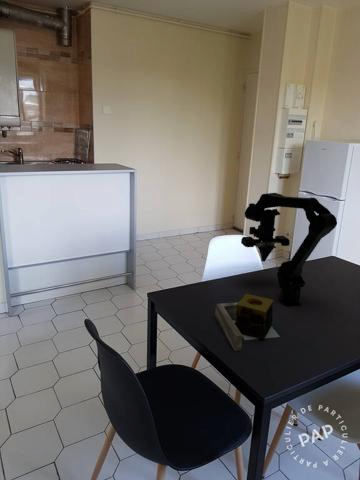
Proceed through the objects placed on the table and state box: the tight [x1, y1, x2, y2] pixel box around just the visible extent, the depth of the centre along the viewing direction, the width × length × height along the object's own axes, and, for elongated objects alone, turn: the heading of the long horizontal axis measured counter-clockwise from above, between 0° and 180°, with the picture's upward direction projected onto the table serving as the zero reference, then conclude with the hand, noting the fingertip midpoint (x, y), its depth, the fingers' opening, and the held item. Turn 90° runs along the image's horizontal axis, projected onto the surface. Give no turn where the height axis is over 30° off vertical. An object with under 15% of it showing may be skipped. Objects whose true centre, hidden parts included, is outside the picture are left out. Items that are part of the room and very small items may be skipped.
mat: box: [233, 320, 281, 341], centre depth 124 cm, size 12×12×1 cm
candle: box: [234, 293, 275, 341], centre depth 122 cm, size 10×10×10 cm
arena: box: [214, 302, 243, 351], centre depth 123 cm, size 20×21×5 cm
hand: (263, 261), depth 152 cm, fingers closed
